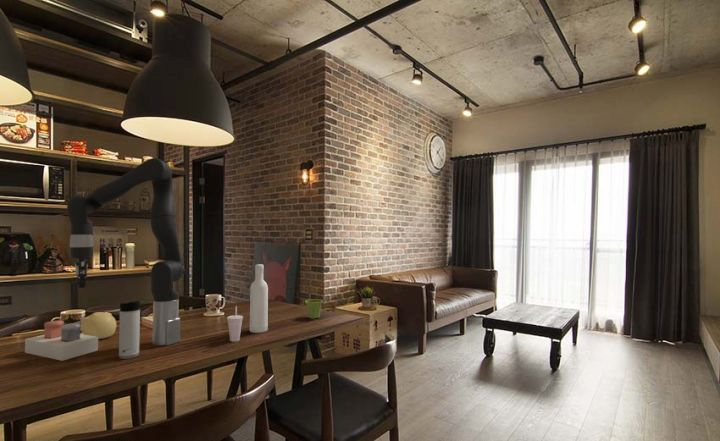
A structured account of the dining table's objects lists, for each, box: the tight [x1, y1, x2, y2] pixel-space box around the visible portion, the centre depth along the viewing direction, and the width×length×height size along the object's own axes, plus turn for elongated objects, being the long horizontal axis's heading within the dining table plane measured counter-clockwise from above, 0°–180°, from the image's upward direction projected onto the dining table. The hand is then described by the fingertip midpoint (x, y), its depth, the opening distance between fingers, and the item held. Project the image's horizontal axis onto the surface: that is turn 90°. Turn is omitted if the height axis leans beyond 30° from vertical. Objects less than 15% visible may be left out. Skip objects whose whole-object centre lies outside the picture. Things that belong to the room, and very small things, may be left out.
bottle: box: [249, 263, 269, 334], centre depth 168 cm, size 8×8×30 cm
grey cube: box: [61, 322, 81, 342], centre depth 136 cm, size 6×6×6 cm
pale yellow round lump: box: [80, 311, 117, 340], centre depth 156 cm, size 12×12×11 cm
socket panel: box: [24, 333, 99, 362], centre depth 138 cm, size 22×12×5 cm, turn 69°
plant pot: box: [304, 298, 324, 320], centre depth 194 cm, size 9×9×9 cm
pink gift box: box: [44, 320, 65, 339], centre depth 140 cm, size 6×6×6 cm
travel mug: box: [118, 300, 141, 360], centre depth 134 cm, size 6×7×20 cm
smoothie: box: [226, 305, 244, 342], centre depth 153 cm, size 6×6×14 cm
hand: (81, 286), depth 147 cm, fingers open, 8 cm apart
